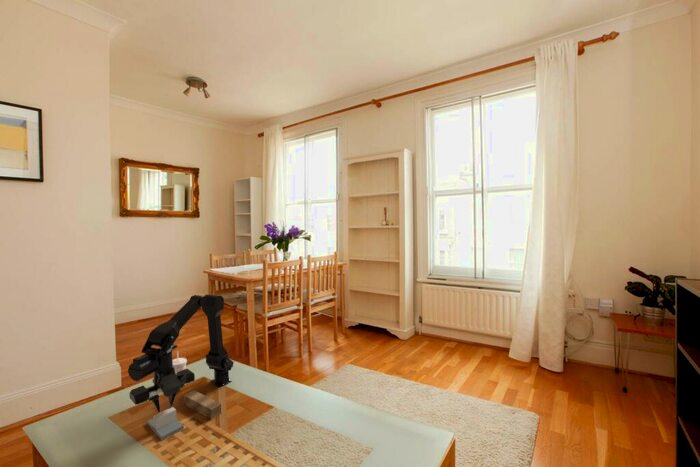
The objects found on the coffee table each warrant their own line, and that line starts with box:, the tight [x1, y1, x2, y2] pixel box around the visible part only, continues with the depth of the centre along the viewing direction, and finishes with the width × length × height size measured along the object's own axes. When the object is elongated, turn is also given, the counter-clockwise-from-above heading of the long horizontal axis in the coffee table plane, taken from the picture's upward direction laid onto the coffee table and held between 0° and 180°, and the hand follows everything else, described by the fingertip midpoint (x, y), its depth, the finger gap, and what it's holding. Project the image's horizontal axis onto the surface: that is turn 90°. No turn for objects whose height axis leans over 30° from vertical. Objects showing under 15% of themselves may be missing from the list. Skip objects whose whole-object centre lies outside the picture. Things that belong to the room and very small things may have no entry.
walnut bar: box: [183, 390, 222, 420], centre depth 120 cm, size 16×4×4 cm, turn 60°
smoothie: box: [173, 350, 188, 375], centre depth 136 cm, size 6×6×14 cm
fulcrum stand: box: [146, 406, 185, 441], centre depth 110 cm, size 12×7×5 cm, turn 52°
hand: (164, 408), depth 109 cm, fingers open, 4 cm apart
